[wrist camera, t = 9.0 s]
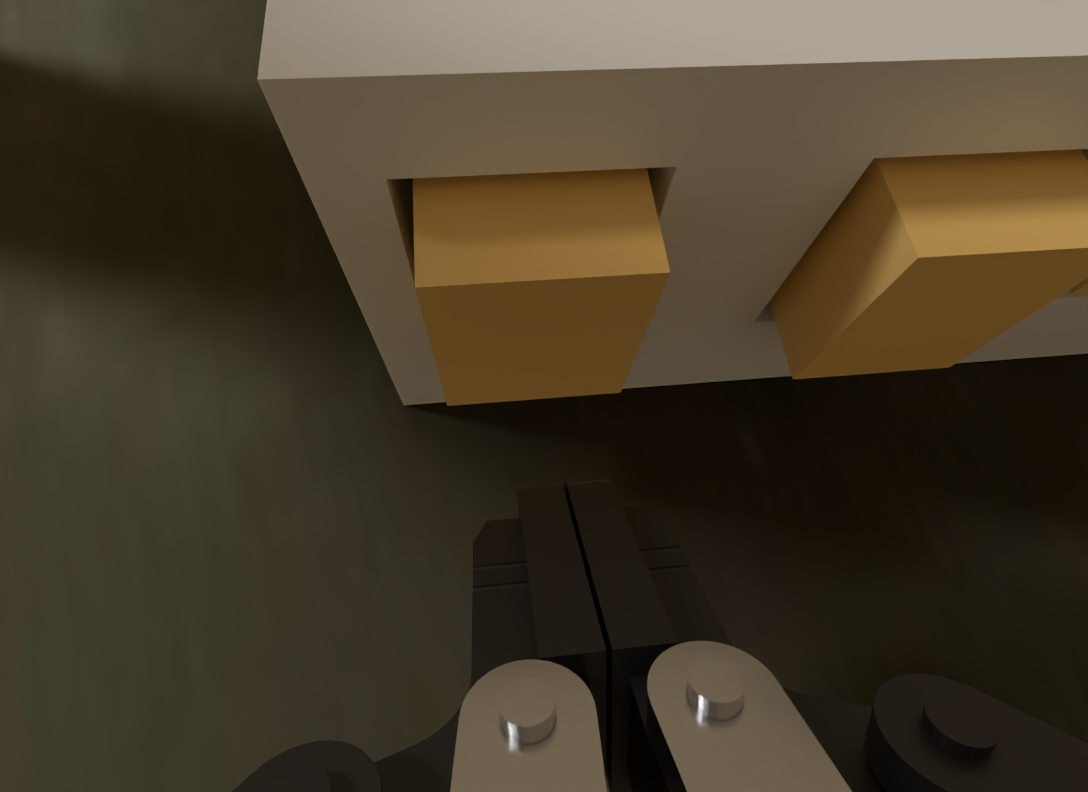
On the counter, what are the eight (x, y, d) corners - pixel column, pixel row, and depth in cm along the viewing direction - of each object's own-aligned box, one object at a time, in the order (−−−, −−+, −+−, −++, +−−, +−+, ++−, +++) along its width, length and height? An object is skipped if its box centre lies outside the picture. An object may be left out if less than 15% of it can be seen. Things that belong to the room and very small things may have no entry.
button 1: (446, 406, 15) (415, 287, 10) (442, 303, 16) (412, 152, 11) (620, 392, 15) (670, 272, 10) (603, 293, 16) (641, 144, 11)
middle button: (792, 379, 15) (918, 257, 11) (764, 283, 17) (865, 135, 12) (949, 367, 16) (1138, 244, 11) (910, 274, 17) (1066, 126, 12)
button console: (403, 405, 19) (242, 45, 8) (401, 153, 24) (295, -316, 12) (1122, 350, 21) (1819, 7, 10) (1000, 129, 26) (1389, -287, 14)
